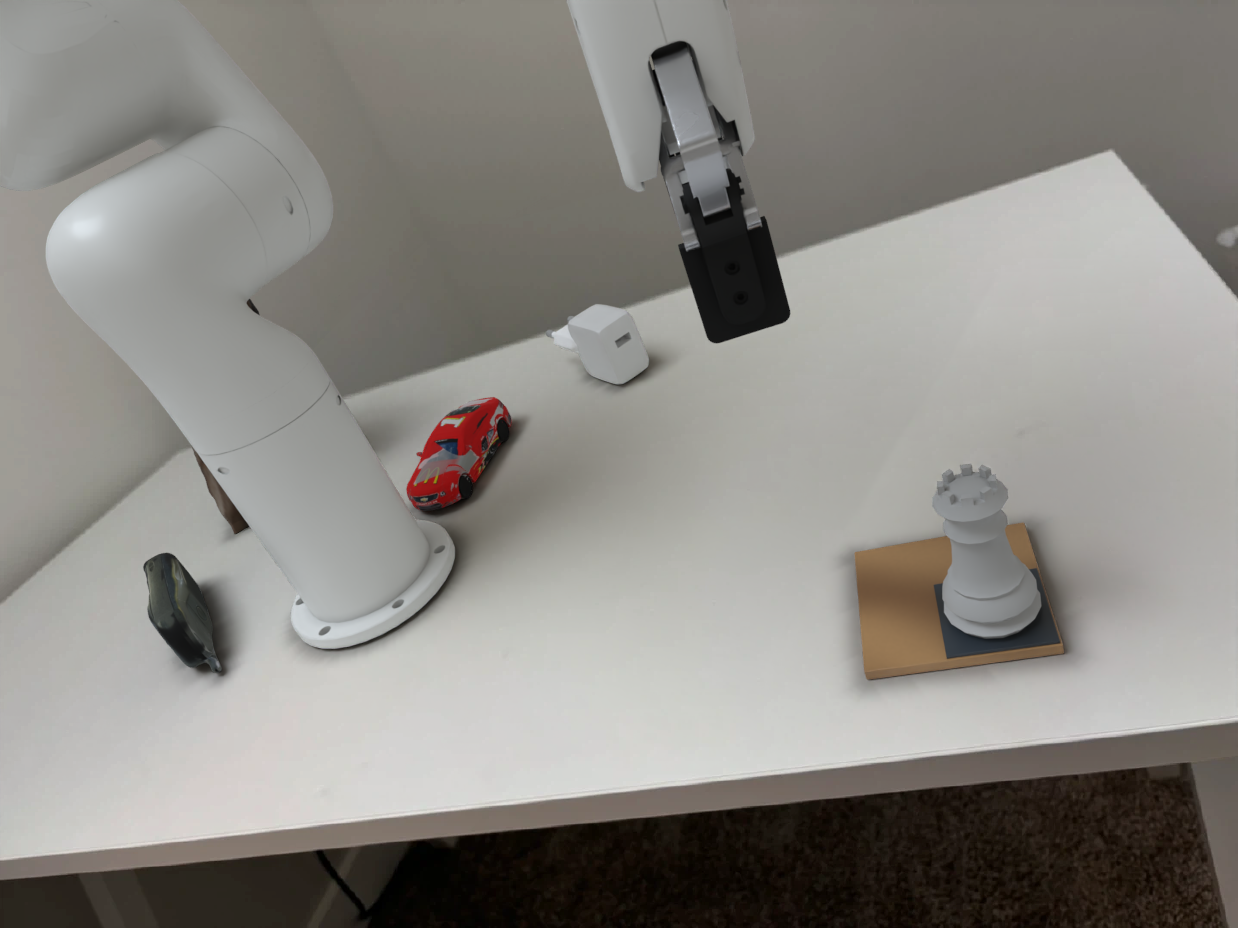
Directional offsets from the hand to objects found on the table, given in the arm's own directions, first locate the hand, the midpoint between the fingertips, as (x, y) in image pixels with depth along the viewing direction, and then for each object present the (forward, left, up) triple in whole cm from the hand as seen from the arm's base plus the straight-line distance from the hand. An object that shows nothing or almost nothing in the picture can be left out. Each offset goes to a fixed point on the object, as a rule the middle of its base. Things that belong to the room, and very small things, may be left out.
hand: (733, 280), depth 40 cm
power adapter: (-40, +12, -20) cm, 47 cm away
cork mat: (+4, +4, -20) cm, 21 cm away
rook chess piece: (+6, +4, -20) cm, 21 cm away
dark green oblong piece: (-41, -28, -20) cm, 54 cm away
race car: (-39, -4, -20) cm, 44 cm away
